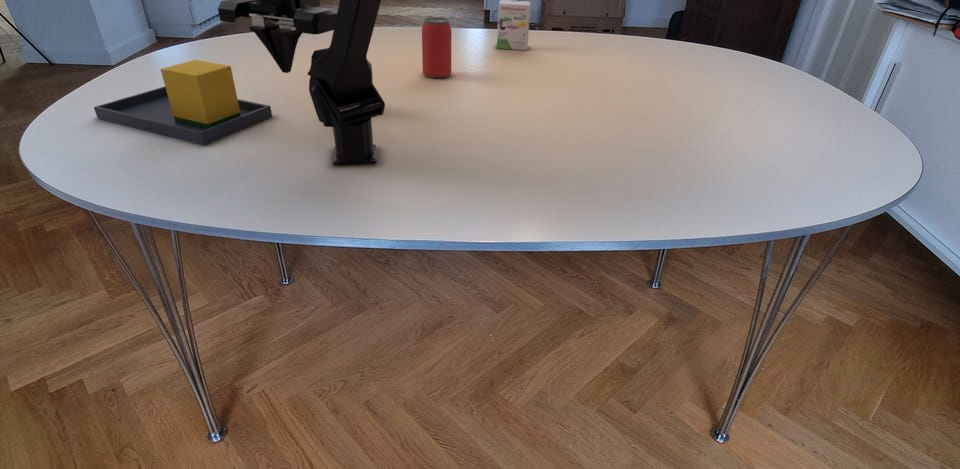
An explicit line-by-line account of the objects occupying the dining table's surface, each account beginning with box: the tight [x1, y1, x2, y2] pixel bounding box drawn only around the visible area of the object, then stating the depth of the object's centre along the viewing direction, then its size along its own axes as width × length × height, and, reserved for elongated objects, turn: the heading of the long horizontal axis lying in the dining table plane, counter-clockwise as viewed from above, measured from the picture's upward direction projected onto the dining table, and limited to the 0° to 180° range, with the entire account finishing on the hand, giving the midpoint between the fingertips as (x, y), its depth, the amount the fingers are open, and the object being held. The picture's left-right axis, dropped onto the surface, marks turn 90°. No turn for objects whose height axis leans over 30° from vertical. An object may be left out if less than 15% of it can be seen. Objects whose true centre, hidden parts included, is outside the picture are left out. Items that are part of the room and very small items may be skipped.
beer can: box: [421, 17, 452, 79], centre depth 122 cm, size 7×7×12 cm
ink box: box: [496, 0, 532, 51], centre depth 147 cm, size 8×5×12 cm, turn 84°
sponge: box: [160, 59, 241, 129], centre depth 92 cm, size 8×7×9 cm
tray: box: [93, 86, 273, 146], centre depth 96 cm, size 25×15×2 cm, turn 66°
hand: (286, 72), depth 87 cm, fingers closed
